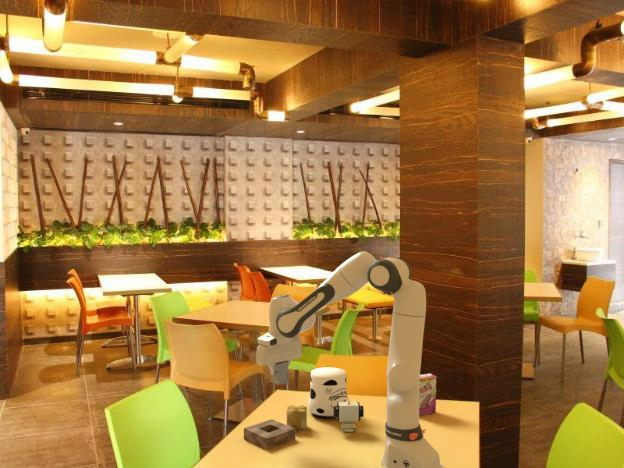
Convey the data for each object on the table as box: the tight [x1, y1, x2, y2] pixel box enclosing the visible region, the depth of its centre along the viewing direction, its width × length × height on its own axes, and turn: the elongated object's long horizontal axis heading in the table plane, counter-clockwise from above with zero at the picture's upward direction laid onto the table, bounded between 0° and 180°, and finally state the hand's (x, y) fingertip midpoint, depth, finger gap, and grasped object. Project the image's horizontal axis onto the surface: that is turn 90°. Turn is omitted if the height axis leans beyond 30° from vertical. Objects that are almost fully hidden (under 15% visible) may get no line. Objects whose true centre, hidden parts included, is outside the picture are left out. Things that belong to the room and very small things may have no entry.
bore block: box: [243, 419, 296, 450], centre depth 230 cm, size 14×14×4 cm
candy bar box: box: [419, 373, 438, 417], centre depth 257 cm, size 11×5×16 cm, turn 115°
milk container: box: [307, 366, 350, 418], centre depth 257 cm, size 17×17×18 cm
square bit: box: [270, 361, 289, 385], centre depth 229 cm, size 4×4×8 cm
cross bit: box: [286, 404, 308, 432], centre depth 241 cm, size 8×8×8 cm
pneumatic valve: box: [333, 400, 365, 433], centre depth 238 cm, size 6×12×12 cm, turn 91°
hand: (279, 373), depth 229 cm, fingers closed on square bit, 4 cm apart
